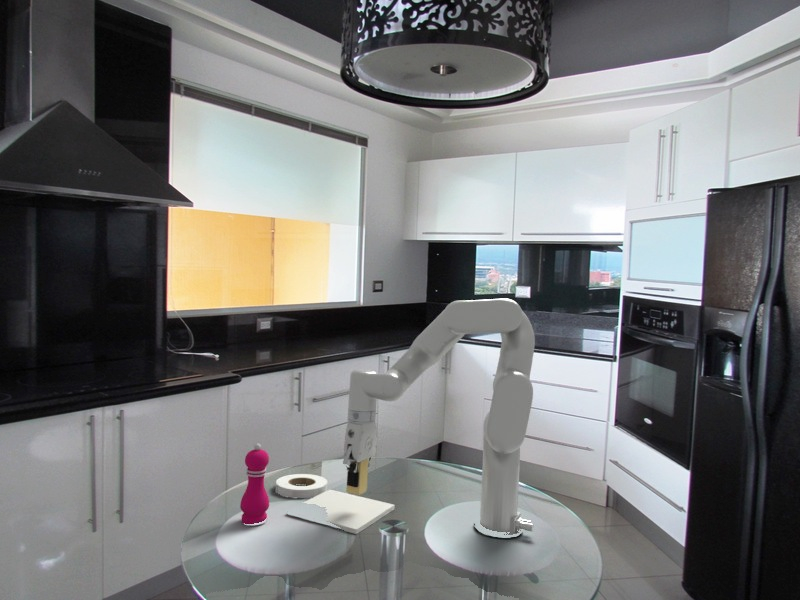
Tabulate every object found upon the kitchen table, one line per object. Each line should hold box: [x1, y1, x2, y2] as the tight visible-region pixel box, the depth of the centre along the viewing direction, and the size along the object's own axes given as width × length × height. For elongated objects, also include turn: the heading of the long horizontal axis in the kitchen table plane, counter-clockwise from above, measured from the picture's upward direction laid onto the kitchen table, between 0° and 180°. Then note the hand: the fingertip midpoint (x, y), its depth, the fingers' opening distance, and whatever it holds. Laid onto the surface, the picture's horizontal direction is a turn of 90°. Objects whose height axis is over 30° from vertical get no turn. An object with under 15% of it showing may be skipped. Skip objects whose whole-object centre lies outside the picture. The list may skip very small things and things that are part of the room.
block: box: [345, 457, 370, 496], centre depth 147 cm, size 4×4×10 cm
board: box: [302, 489, 395, 535], centre depth 149 cm, size 22×20×1 cm
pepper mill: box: [239, 443, 270, 524], centre depth 140 cm, size 7×7×20 cm
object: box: [275, 473, 328, 499], centre depth 165 cm, size 16×15×3 cm
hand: (357, 483), depth 146 cm, fingers closed on block, 4 cm apart
